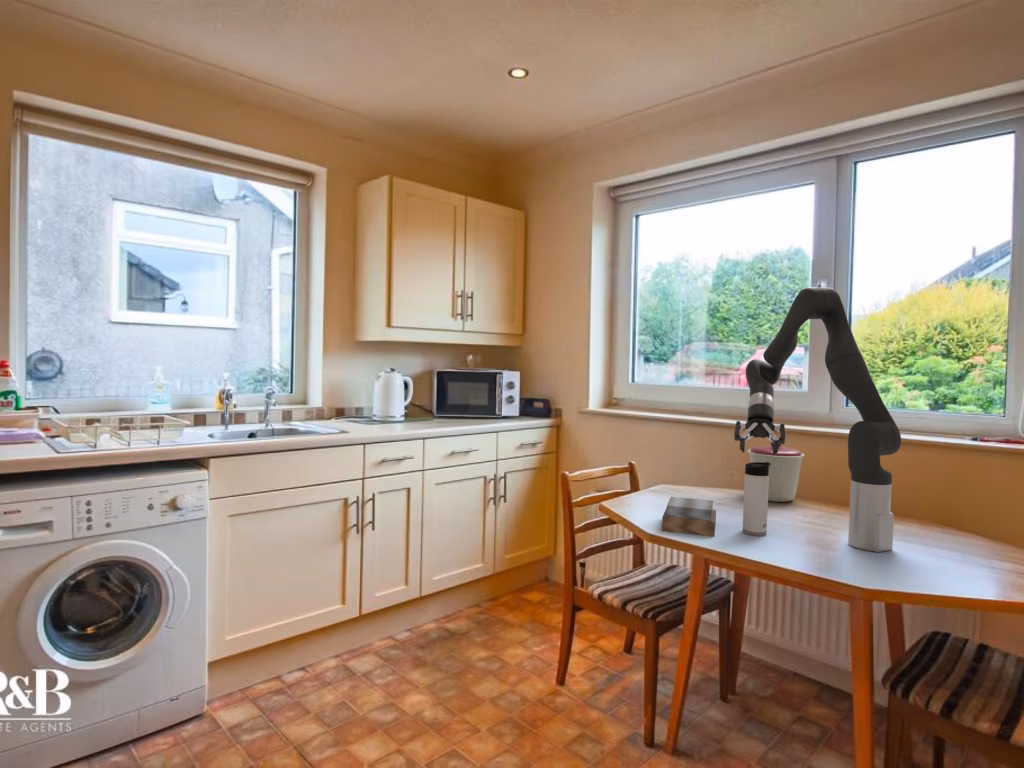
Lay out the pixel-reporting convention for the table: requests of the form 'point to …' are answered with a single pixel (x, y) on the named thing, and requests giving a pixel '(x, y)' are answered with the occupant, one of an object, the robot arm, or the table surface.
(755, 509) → the travel mug
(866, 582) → the table surface
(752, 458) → the canister
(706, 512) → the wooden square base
